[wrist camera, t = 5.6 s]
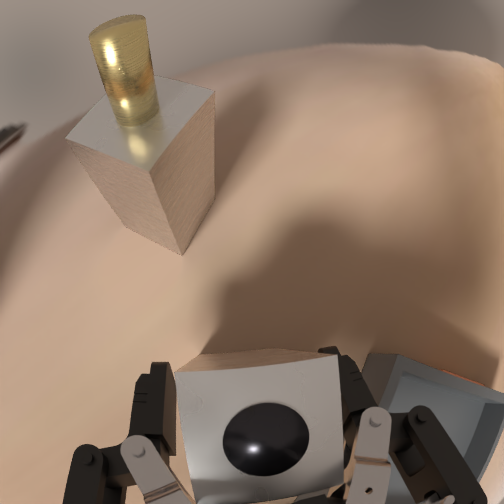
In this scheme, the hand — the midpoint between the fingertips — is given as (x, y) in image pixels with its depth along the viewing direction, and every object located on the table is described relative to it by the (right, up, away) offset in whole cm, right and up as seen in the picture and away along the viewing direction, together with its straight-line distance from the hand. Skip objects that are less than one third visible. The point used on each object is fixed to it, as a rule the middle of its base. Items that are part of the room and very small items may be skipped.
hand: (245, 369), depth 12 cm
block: (0, -3, +4) cm, 5 cm away
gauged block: (-5, +8, +7) cm, 11 cm away
